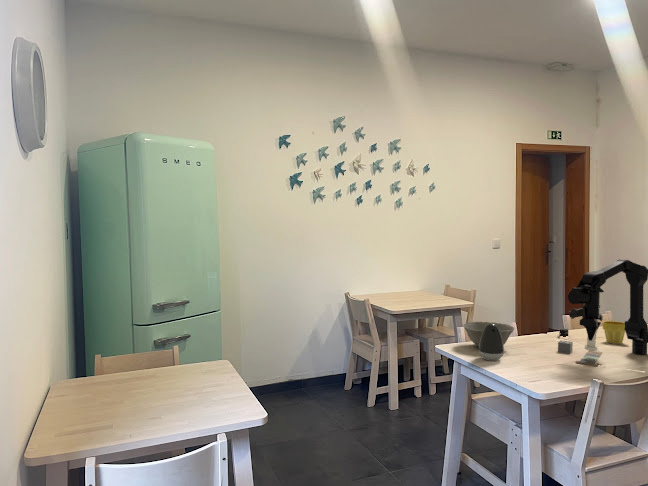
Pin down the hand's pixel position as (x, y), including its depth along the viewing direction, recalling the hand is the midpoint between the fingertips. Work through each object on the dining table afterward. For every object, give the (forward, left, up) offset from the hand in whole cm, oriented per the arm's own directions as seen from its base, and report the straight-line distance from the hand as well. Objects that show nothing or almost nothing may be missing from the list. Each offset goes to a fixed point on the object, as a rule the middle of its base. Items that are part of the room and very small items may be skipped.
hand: (591, 339), depth 212 cm
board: (-3, 0, -9) cm, 9 cm away
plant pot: (-43, +4, -9) cm, 44 cm away
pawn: (0, 0, -4) cm, 4 cm away
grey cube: (-6, -11, -9) cm, 15 cm away
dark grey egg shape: (+25, -34, -9) cm, 43 cm away
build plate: (-41, -18, -9) cm, 46 cm away
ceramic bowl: (+5, -42, -9) cm, 43 cm away
